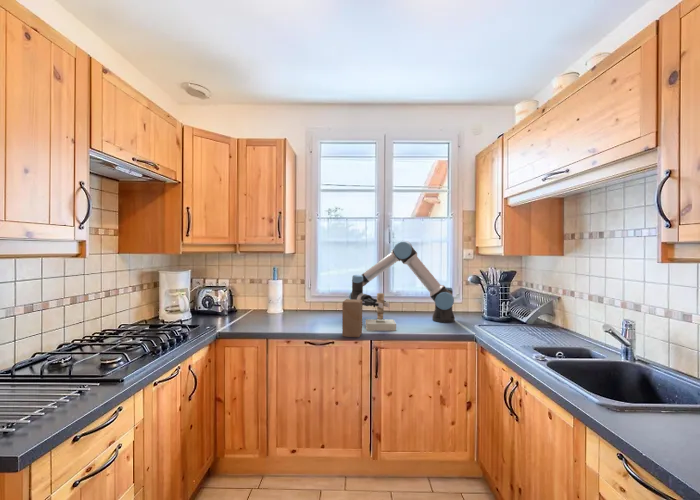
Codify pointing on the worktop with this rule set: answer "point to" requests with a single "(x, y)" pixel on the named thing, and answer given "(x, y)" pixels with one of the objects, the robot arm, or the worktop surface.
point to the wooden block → (352, 318)
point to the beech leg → (379, 310)
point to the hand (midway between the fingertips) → (385, 305)
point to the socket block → (380, 325)
